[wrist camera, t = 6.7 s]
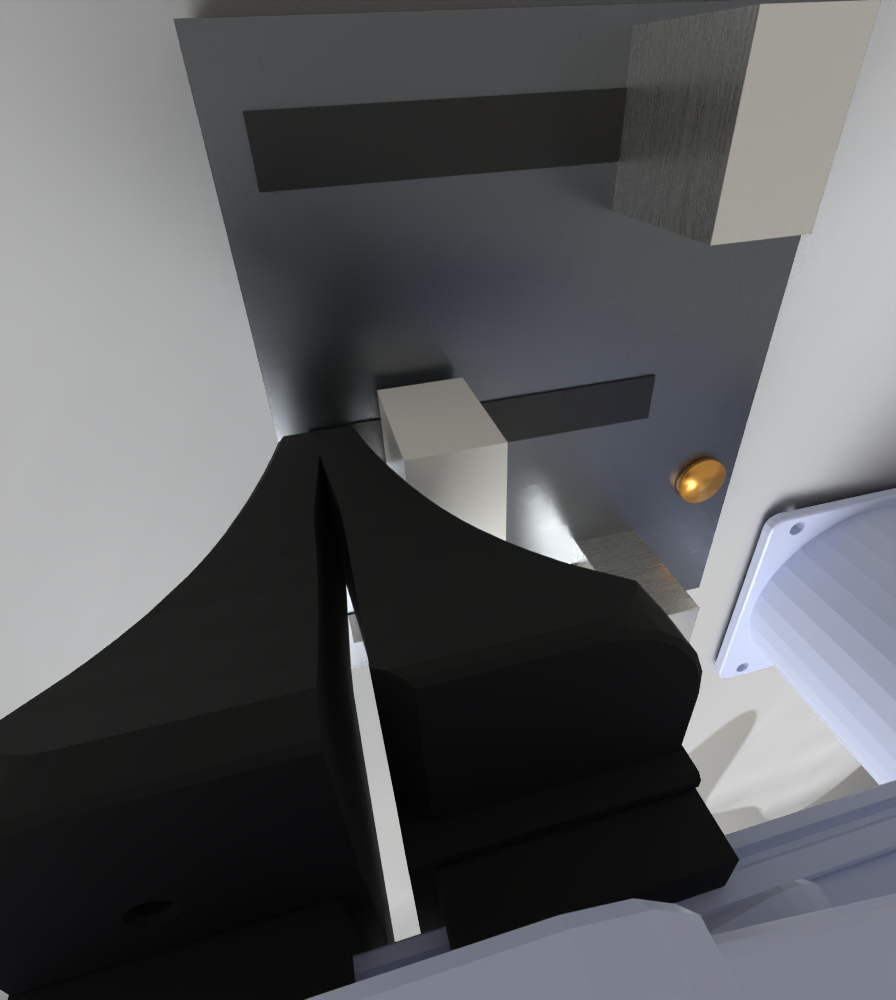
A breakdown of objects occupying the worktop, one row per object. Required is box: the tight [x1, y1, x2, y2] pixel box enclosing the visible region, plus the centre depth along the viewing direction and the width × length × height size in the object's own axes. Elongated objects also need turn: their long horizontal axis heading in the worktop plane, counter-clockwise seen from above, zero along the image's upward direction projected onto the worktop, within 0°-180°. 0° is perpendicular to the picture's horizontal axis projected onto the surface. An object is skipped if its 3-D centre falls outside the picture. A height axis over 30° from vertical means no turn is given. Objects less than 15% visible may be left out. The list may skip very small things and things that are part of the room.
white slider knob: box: [377, 377, 508, 541], centre depth 10 cm, size 2×2×2 cm, turn 2°
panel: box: [174, 0, 881, 669], centre depth 12 cm, size 10×13×5 cm
